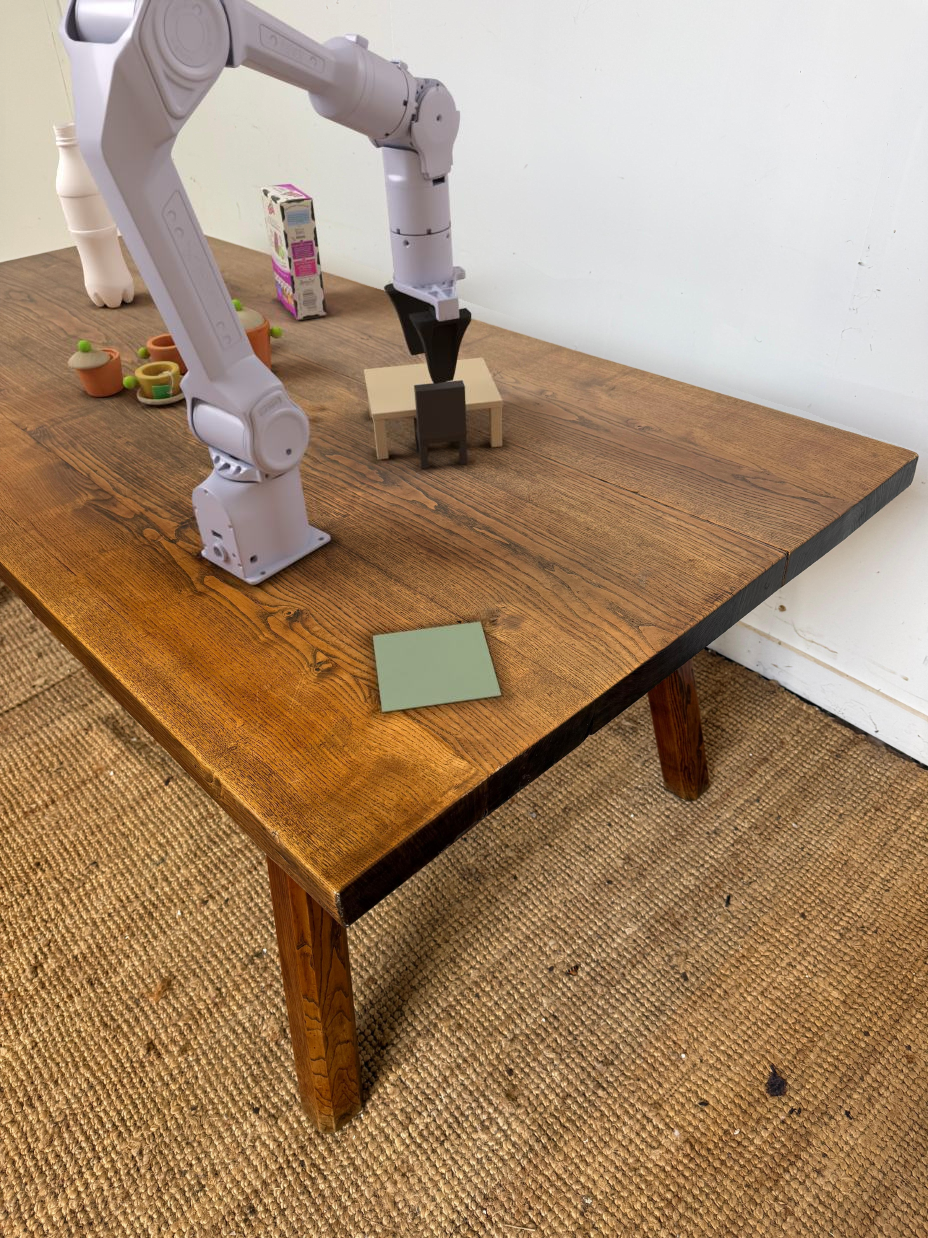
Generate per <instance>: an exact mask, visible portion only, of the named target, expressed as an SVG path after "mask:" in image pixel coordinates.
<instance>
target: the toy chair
mask: <svg viewBox="0 0 928 1238" xmlns="http://www.w3.org/2000/svg"><path fill="white" fill-rule="evenodd" d="M414 392H415V405H416V416H415V417H413V429H414V439H415V440H414V441H415V450H416V451H417V452H418V451H419V464H420V465H419V466H420V469H421V470H425V469H429V468H430V466H429V465H430V464H429V453H428V445H436V444H443V443H444V444H445V443H446V444H447V443H452V444H453V446H454V447H455V448H456V447H458V462H459V464H460V465H468V445H467V443H468V442H467V436H468V430H467V428H468V427H467V411H466V400H465V385H464V383H463V380H460V381H450V382H442V383H437V384H434V383H430V384H421V385H414Z"/></svg>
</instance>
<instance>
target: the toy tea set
mask: <svg viewBox="0 0 928 1238" xmlns="http://www.w3.org/2000/svg"><path fill="white" fill-rule="evenodd" d="M231 300H232V302H233V304H234V307H235V309H236V311H237V314H238V316H239V319H240V321H241V323H242V326H243V328H244V330H245V333H246V335H247V337H248V340H249V342H250V345H251V347H252V349H253V352H254V354H255V355H256V356H257V357H258V359H259V360H260V361H261V362H262V363H263V364H264V365H265V366H266V367H267V368H268V369H269V370H270V371H271V372H272V349H271V348H272V347H271V337H272V338H274V339H276V340H277V339H280V338H281V337H282V336H283V330H282V328H281V327H279V326H272V327H271V324H270V321H269V319H268V318H267V317H266V316H265V315H262V314H260V313H259V312H258V311H256V310H254V309H252V308H249V307H246V306H243V304H242V302H241V300H239V299H231ZM145 345H146V347H141V348H139V349H138V352H137V354H138V357H139V358H140V359H142V360H148V359H149V358H150V357H151V359H152V362H149V363H145V364H143V365H141V366H139V367H138V368H136V370H135V371H134V375H135V377H134V376H132V375H127V376H125V377H124V375H123V367H122V360H121V353H120V352H119V350H117V349H115V348H109V347H103V348H102V347H101V348H92V344H91V342H89V341H88V340H86V339H82V340H80V341H78V343H77V348H78V351H76V352H75V353H73V354H72V355H71V357H70V358H69V359H68V360H67V366H68V367H69V368H70V369H72V370H75V372H76V374H77V376H78V378H79V379H80V382H81V383H82V386H83V388H84V389H85V391H86V393H87V394H88V395H89V396H91V397H95V398H96V397H97V398H103V397H110V396H113V395H116V394H118V393H120V392H121V391H122V390H123V388H126V389H128V390H133V389H135V388H136V386H137V385H139V389H138V390H137V392H136V397H137V400H138V401H139V402H141V403H143V404H146V405H151V406H162V405H169V404H173V403H177V402H179V401H181V400H183V399H186V398H185V396H184V393H183V391H182V389H181V387H180V383H181V381H182V379H183V377H184V376H185V374H186V373H187V372H188V369H187V367H186V365H185V363H184V361H183V359H182V357H181V355H180V353H179V351H178V349H177V347H176V345H175V343H174V341H173V339H172V337H171V335H170V333H164V334H158V335H156V336H153V337H151V338H150V339H148V340H147V342H146V343H145ZM183 374H184V375H183Z"/></svg>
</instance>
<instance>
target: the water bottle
mask: <svg viewBox="0 0 928 1238" xmlns="http://www.w3.org/2000/svg"><path fill="white" fill-rule="evenodd" d="M52 127H53V128H52V129H53V132H54V135H55V140H56V142H55V145H56V146H57V147H58V152H59V160H58V166H57V171H56V176H55V190H56V195H57V196H58V198H59V201H60V205H61V209H62V211H63V215H64V218H65V222H66V224H67V227H68V232H69V234H70V236H71V237H72V239H73V241H74V244H75V246H76V249H77V252H78V254H79V258H80V261H81V266H82V270H83V277H84V278H83V279H84V288H85V289H86V293H87V295H88V297H89V298H90V300H91V301H92V302H93V303H94V305H96V306H97V307H100V308H101V307H102V308H103V307H104V306H105V305H106V306H107V307H108V308H112V309H115V308H119V307H120V306H121V303H122V301H123V302H125V303H127V304H129V303H132V302H133V300H134V296H135V284H134V280H133V276H132V274H131V272H130V270H129V268H128V266H127V264H126V261H125V258H124V255H123V253H122V249H121V245H120V241H119V235H118V233H119V232H118V228H117V226H116V224H115V222H114V220H113V218H112V215H111V213H110V211H109V209H108V207H107V205H106V203H105V201H104V199H103V197H102V195H101V193H100V191H99V189H98V187H97V185H96V183H95V181H94V179H93V177H92V175H91V173H90V171H89V169H88V167H87V165H86V163H85V161H84V159H83V157H82V155H81V152H80V149H79V146H78V143H77V139H76V129H75V122H65V123H63V122H62V123H56V124H53V125H52Z"/></svg>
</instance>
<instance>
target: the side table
mask: <svg viewBox="0 0 928 1238" xmlns="http://www.w3.org/2000/svg"><path fill="white" fill-rule="evenodd" d="M363 373H364V375H363V376H364V380H365V381H364V382H365V386H366V391H367V392H366V394H367V401H368V402H367V403H368V409H369V410H368V411H369V417H370V418H372V419H371V420H372V421H373V430H374V441H375V448H376V449H375V450H376V457H377V460H387V459H389V446H388V437H387V426H386V420H389V419H391V420H392V419H400V418H410V417H416V405H415V392H414V385H421V384H430V383H433V382H432V379H431V377H430V374H429V371H428V366H427V362H424V363H414V364H404V365H403V364H402V365H394V366H384V367H373V368H364V369H363ZM460 380H463V383H464V385H465V400H466V412H467V411H477V410H485V409H486V410H487V409H488V423H489V424H488V428H489V429H488V430H489V431H488V432H489V444H490V446H491V448H497V447H503V406H504V405H503V404H504V402H503V401H504V400H503V398H502V396H501V394H500V391H499V389H498V387H497V385H496V383H495V381H494V378H493V377H492V375H491V372H490V370H489V368H488V366H487V363H486V361H485V359H484V357H474V358H464V359H457V364H456V370H455V375H454V379H453V380H452V381H460ZM447 382H450V381H447Z"/></svg>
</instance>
